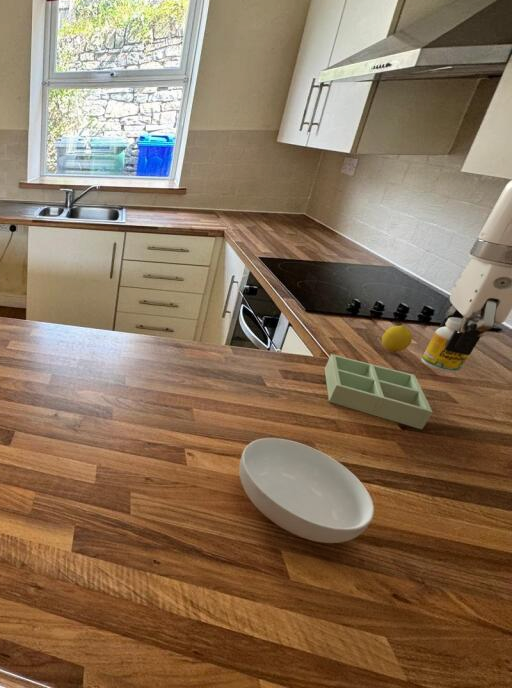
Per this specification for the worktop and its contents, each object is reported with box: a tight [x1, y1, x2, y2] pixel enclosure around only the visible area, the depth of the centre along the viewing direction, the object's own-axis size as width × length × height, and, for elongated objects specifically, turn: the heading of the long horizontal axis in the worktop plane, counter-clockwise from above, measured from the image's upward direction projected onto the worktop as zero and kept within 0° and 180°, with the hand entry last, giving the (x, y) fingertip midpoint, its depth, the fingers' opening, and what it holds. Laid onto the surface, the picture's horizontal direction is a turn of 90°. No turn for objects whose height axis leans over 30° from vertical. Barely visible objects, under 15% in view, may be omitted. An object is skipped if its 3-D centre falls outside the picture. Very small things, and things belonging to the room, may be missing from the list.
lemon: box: [381, 325, 413, 353], centre depth 108 cm, size 6×6×8 cm
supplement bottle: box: [421, 317, 477, 374], centre depth 76 cm, size 5×5×10 cm
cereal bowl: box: [238, 437, 375, 544], centre depth 63 cm, size 17×17×7 cm
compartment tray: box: [324, 353, 434, 430], centre depth 90 cm, size 15×15×5 cm
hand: (451, 344), depth 76 cm, fingers closed on supplement bottle, 5 cm apart
